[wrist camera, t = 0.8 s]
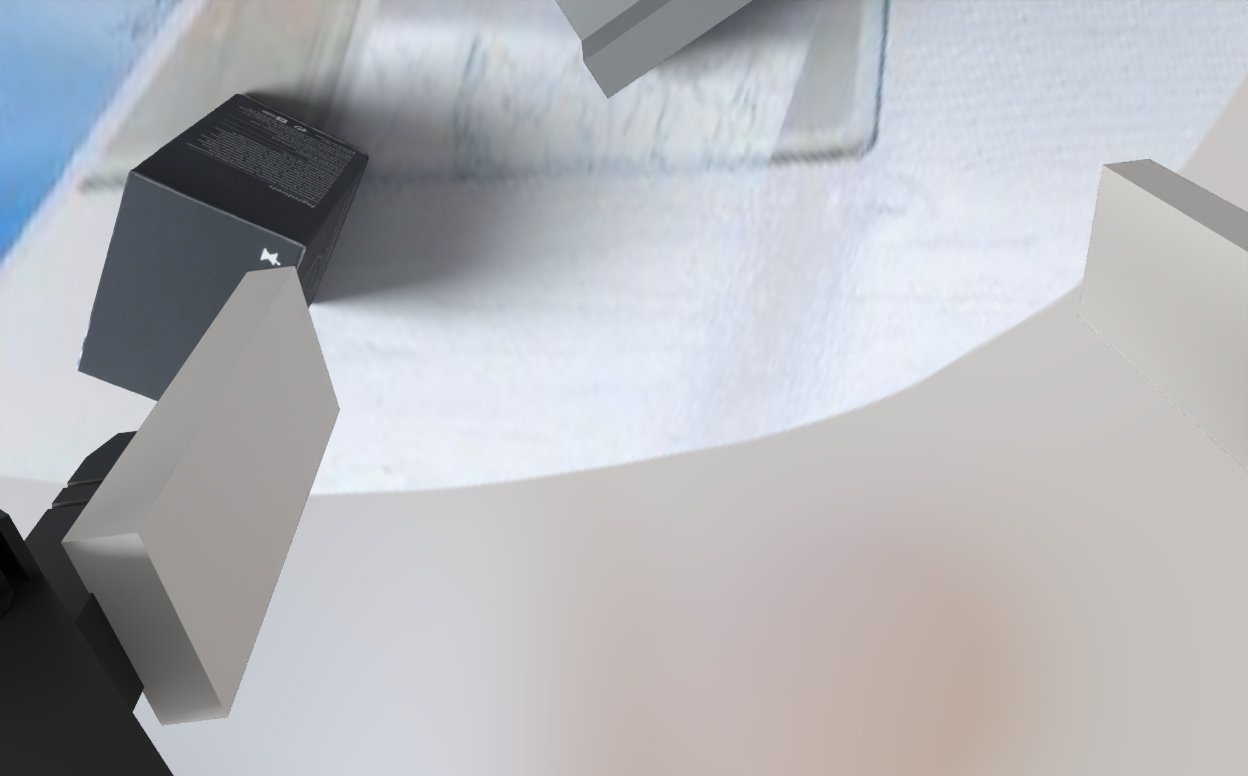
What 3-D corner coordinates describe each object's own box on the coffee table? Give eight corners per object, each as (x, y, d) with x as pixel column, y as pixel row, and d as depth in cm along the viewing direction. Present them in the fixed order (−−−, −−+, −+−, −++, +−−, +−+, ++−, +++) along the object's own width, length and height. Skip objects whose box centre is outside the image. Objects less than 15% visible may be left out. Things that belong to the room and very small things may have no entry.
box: (235, 88, 37) (125, 166, 27) (372, 153, 38) (312, 247, 29) (182, 255, 40) (68, 375, 31) (311, 308, 41) (239, 437, 32)
